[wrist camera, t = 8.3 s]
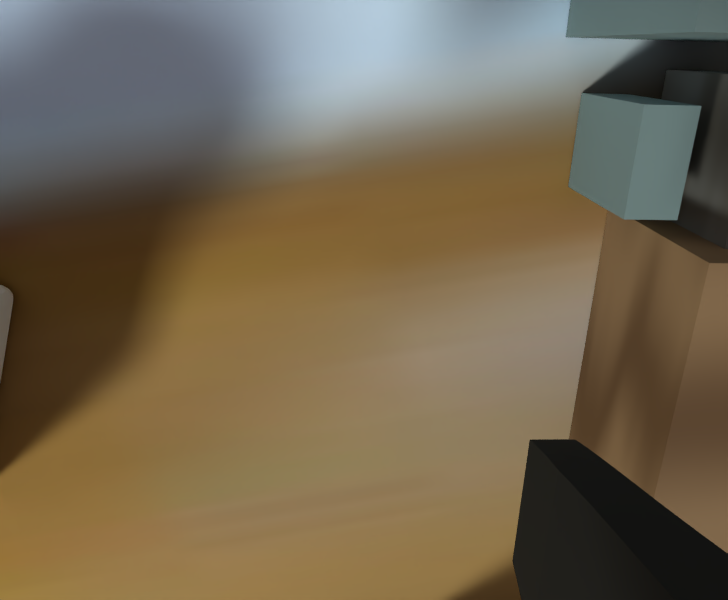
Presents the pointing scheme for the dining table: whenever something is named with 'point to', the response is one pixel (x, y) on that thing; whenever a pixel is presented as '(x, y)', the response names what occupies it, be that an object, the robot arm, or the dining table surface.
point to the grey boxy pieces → (638, 111)
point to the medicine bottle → (4, 320)
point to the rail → (667, 334)
